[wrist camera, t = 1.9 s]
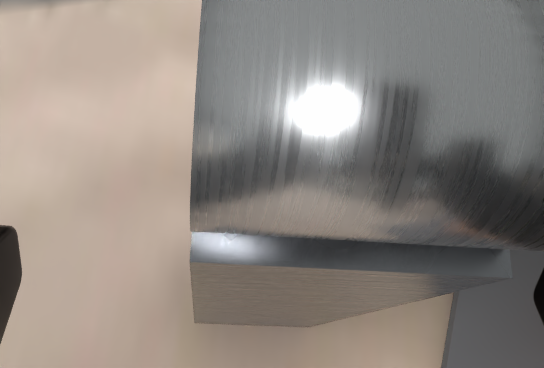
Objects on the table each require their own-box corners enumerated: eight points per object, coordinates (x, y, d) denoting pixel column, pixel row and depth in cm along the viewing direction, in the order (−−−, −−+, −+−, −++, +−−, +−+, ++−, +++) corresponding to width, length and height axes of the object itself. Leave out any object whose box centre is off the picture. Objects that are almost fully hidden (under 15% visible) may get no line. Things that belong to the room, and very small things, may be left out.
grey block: (308, 326, 17) (682, 237, 4) (194, 323, 17) (184, 205, 4) (309, 228, 19) (605, -104, 5) (201, 221, 18) (215, -164, 5)
